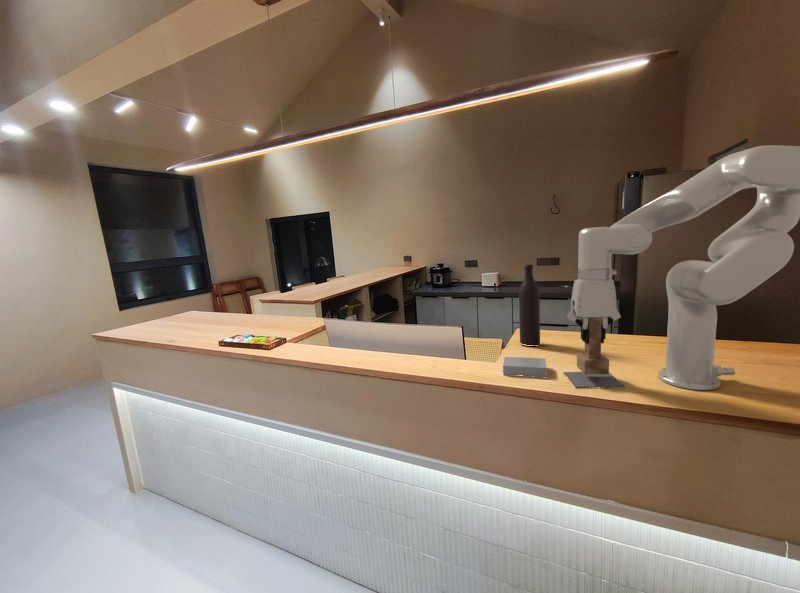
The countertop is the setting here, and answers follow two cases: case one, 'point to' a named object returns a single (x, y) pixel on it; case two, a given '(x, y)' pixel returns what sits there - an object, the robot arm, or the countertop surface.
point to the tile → (525, 366)
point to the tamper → (593, 351)
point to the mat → (593, 380)
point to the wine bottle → (529, 309)
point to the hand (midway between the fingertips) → (592, 341)
